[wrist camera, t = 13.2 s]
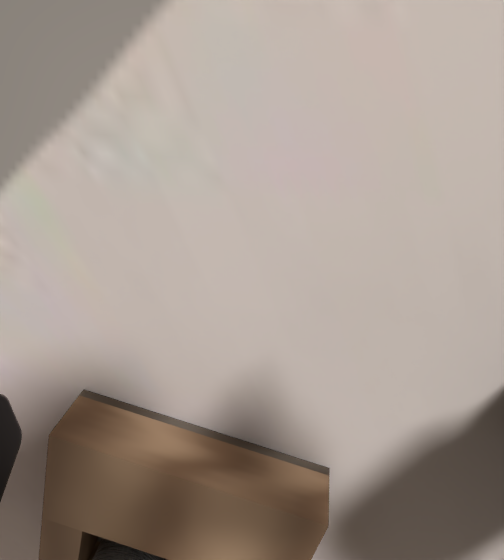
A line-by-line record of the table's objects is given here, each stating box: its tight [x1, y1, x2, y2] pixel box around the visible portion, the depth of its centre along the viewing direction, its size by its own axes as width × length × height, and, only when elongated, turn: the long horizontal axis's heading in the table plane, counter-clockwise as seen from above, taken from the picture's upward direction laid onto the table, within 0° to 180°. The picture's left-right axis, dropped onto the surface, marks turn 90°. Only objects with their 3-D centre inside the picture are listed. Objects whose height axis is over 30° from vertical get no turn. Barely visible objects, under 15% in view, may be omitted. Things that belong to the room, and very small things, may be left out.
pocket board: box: [39, 390, 329, 560], centre depth 27 cm, size 14×14×4 cm
